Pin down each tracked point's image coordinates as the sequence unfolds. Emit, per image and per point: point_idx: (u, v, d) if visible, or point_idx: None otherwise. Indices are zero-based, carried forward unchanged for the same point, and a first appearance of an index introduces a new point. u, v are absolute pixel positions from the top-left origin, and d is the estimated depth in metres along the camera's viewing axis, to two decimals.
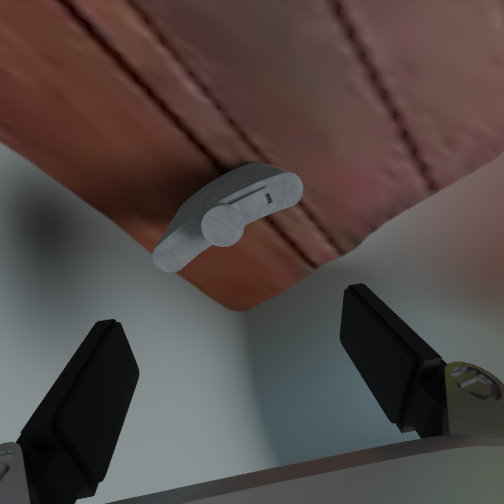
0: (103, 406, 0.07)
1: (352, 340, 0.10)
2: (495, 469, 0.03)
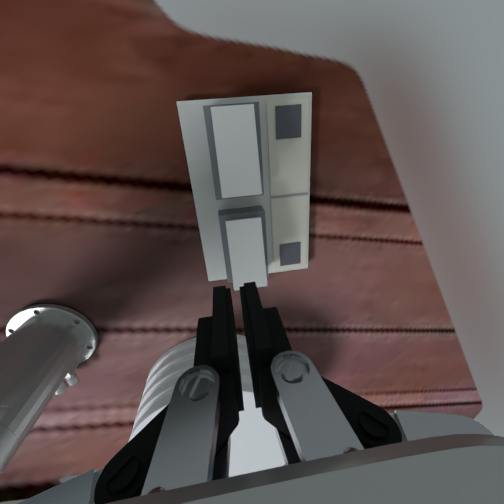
0: (237, 352, 0.09)
1: (245, 334, 0.10)
2: (495, 469, 0.03)
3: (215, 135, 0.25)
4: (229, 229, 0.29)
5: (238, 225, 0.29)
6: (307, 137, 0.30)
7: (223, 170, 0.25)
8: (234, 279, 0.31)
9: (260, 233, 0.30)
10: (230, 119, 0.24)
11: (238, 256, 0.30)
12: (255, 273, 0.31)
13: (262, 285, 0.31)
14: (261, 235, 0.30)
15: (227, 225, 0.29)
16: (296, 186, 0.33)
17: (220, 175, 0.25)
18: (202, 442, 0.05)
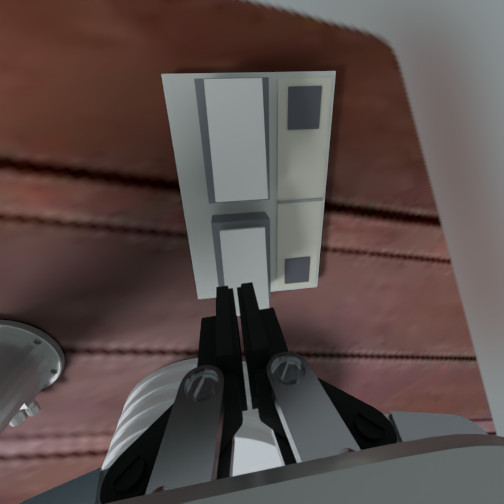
0: (240, 352, 0.09)
1: None
2: (495, 469, 0.03)
3: (209, 118, 0.18)
4: (224, 241, 0.23)
5: (236, 236, 0.23)
6: (326, 129, 0.24)
7: (218, 165, 0.19)
8: None
9: (263, 247, 0.24)
10: (230, 97, 0.18)
11: (234, 275, 0.24)
12: None
13: None
14: (264, 250, 0.24)
15: (222, 236, 0.23)
16: (309, 190, 0.27)
17: (214, 172, 0.19)
18: (206, 442, 0.05)
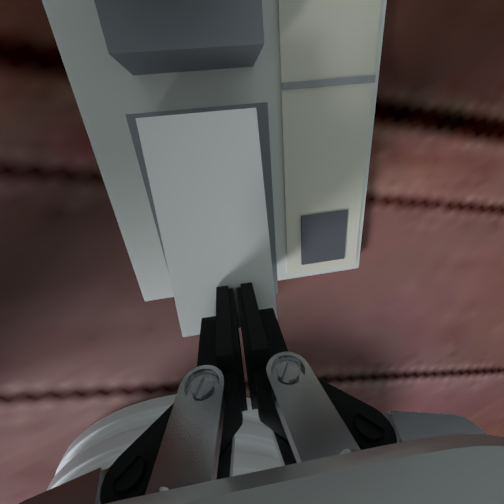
0: (240, 352, 0.09)
1: None
2: (495, 469, 0.03)
3: None
4: (152, 148, 0.09)
5: (182, 134, 0.09)
6: None
7: None
8: (181, 306, 0.10)
9: (255, 163, 0.09)
10: None
11: (188, 238, 0.10)
12: None
13: None
14: (259, 170, 0.09)
15: (144, 133, 0.09)
16: (348, 55, 0.12)
17: None
18: (206, 442, 0.05)
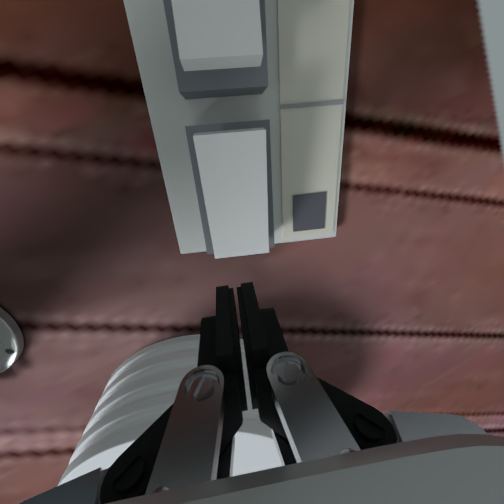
0: (240, 352, 0.09)
1: None
2: (495, 469, 0.03)
3: None
4: (202, 153, 0.15)
5: (220, 145, 0.15)
6: None
7: None
8: (214, 242, 0.18)
9: (262, 163, 0.16)
10: None
11: (220, 206, 0.17)
12: (250, 233, 0.18)
13: (260, 251, 0.19)
14: (265, 167, 0.16)
15: (197, 144, 0.14)
16: (324, 86, 0.19)
17: (175, 4, 0.12)
18: (206, 442, 0.05)
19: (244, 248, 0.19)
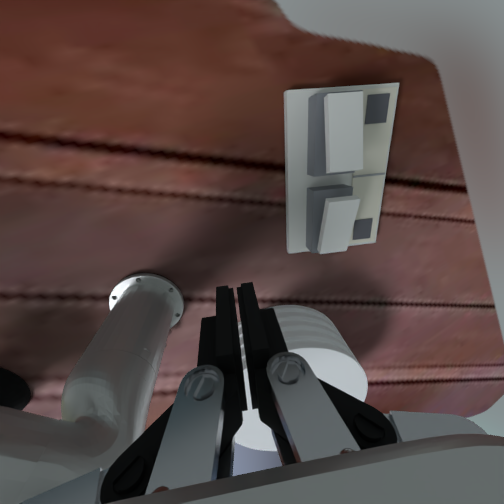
0: (240, 352, 0.09)
1: None
2: (495, 469, 0.03)
3: (329, 118, 0.29)
4: (330, 209, 0.32)
5: (339, 205, 0.32)
6: (390, 122, 0.35)
7: (333, 148, 0.30)
8: (322, 246, 0.37)
9: (355, 212, 0.33)
10: (343, 104, 0.29)
11: (331, 230, 0.35)
12: (340, 242, 0.36)
13: (342, 250, 0.38)
14: (355, 213, 0.34)
15: (330, 205, 0.32)
16: (375, 166, 0.37)
17: (331, 152, 0.30)
18: (206, 442, 0.05)
19: (335, 248, 0.37)
